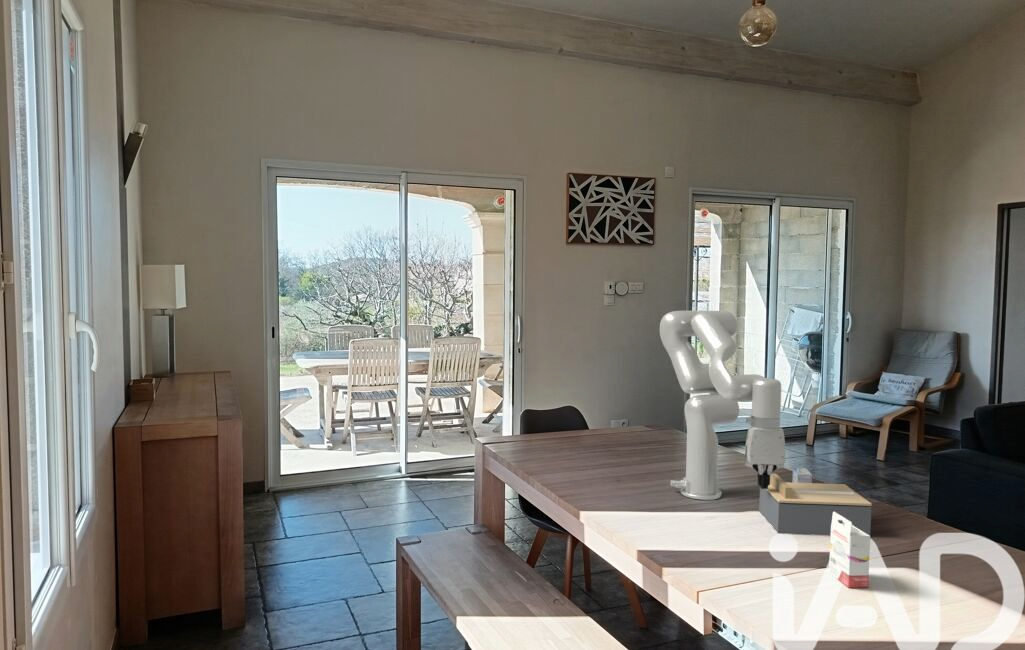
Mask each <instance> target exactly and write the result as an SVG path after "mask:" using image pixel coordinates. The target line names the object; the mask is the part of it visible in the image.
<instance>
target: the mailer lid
mask: <svg viewBox="0 0 1025 650" xmlns="http://www.w3.org/2000/svg"><path fill="white" fill-rule="evenodd" d="M766 490H767V491H768V492H769V493H770V494H771V495H772V496H773V497H774V498H775V499H776V500H777V501H778V502H779V503H803V504H831V505H860V506H871V507H872V505H873V503H871V502H870V501H868V499H866V498H864V497H863V496H862V495H860V494H859V493H858V492H856V491H854V489H852V488H850V487H849V486H848V485H847V484H844V483H822V482H821V483H819V482H816V483H814V482H812V483H792V482H791V481H790V482H789V481H788V482H787V481H785V480H783V478H781V477H780V476H779V475H778V474H777V473H772V474H771V475H770V485H768V489H766Z"/></svg>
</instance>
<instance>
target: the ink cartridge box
mask: <svg viewBox="0 0 1025 650" xmlns="http://www.w3.org/2000/svg"><path fill="white" fill-rule="evenodd" d="M838 520H840V521H841V520H842V521H843V523H845V524H840V523H839V522H838ZM829 536H830V540H829V562H828V573H829V574H830V575H832V576H833V578H835V579H836V580H837V581H839V582H840V583H842V584H843V585H845V587H847V588H851V589H852V588H868V587H869V576H870V575H869V573H870V571H869V570H870V553H871V552H870V551H871V534H870V535H868V534H866V533H864V532H863V531H861V530H860V529H858V528H856V527H855V526H853V525H852V522H851V521H849V520H847V519H846V518H844V517H842V516H841V515H839V514H837V513H836V512H833V515H832V523H831V535H829Z"/></svg>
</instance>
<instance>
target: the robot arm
mask: <svg viewBox="0 0 1025 650" xmlns="http://www.w3.org/2000/svg"><path fill="white" fill-rule="evenodd" d="M737 331H738V321H737V319H736V317H735V315H733V313H731V312H729V311H727V310H674V311H670V312H668V313H665V314H664V315H663V316H662V318H661V320H660V323H659V336H660V339H661V342H662V345H663V347H664V349H665V351H666V352H667V354H668V355H669V358H670V360H671V364H672V367H673V369H674V372H675V375H676V378H677V380H678V384H679V386H680V388H681V391H683V392H684V393H686V394H691V395H692V397H689V399H687V400H686V402H685V404H684V408H683V409H684V411H683V412H684V417H685V424H686V456H685V457H686V458H685V459H686V461H685V465H686V466H685V476H683V479H680V480H675V479H674V480H673V479H670V485H669V486H670V487H675V488H676V489H680V494H681V495H683V497H684V496H685V497H687V498H690V499H694V500H701V501H703V500H704V501H713V500H718V499H721V497H722V494H723V493H722V491H721V490H720V489H718V461H719V460H718V457H719V456H718V455H719V439H718V436H717V432H716V431H715V429H714V427H713V426H714V425H715V426H717V425H725V424H732V423H734V422H735V421H737V419H738V417H739V415H740V406H739V402H744V401H745V402H751V415H750V417H747V418H745V422H746V424H750V425H749V426H748V430H747V434H746V440H745V447H744V458H745V460H744V464H743V465H744V466H745V467H747V468H750V469H753V470H754V471H756V472H757V485H758V487H759V488H760V487H761V489H764V488H765V489H768V485H770V475H771V474H773V472H775V471H776V470H777V469H778V470H779V469H783V468H784V467H785V463H786V442H785V434H784V429H783V428H782V427H781V411H782V410H781V409H782V408H781V407H782V405H781V404H782V403H781V402H782V383H781V381H780V380H779V379H776V378H769V377H766V376H762V375H759V374H754V373H753V374H734V375H733V374H731V373H730V372H729V370H728V368H727V366H726V365H725V362H726V361H728V360H729V359H731V358H732V357H733V356H734V355H735V353H737V348H738V347H737V343H736V342H735V340H734V339H733V336H734V335H735V334H736V332H737ZM685 337H697V339H698V340H699V342H700V344H701V345H702V347H703V349H704V350H705V351H706V353H707V354H708V356H709V357H710V359H709V362H708V363H702V362H701V359H700V358H699V356H698V352H697V350H696V348H695V347H694V346H693V345H692V344H691V343H690V342H689V341H688V340H687V339H686V338H685ZM694 394H695V395H694ZM696 394H697V395H696ZM693 395H694V396H693ZM763 465H764V467H765V468H764V467H763ZM763 468H764V469H763Z"/></svg>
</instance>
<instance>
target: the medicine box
mask: <svg viewBox="0 0 1025 650" xmlns="http://www.w3.org/2000/svg"><path fill="white" fill-rule="evenodd" d="M791 475H792V482H791V483H813V474H812V473H811V472H810V471H809V470H808V469H807V468H806V467H792V474H791Z"/></svg>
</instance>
